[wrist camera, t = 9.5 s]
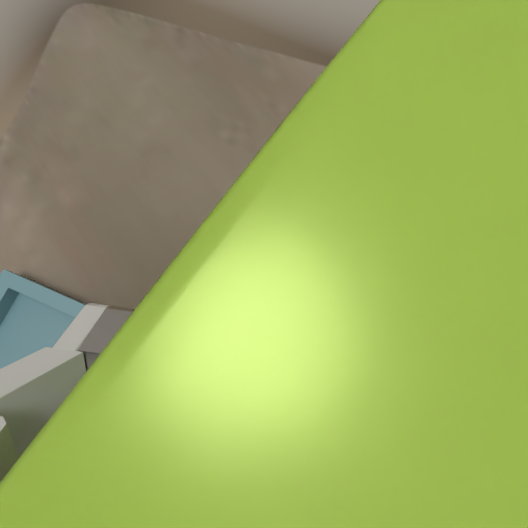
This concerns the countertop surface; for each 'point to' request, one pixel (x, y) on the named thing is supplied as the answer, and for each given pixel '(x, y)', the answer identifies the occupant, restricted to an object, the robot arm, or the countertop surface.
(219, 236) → the soap dispenser
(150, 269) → the countertop surface
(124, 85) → the countertop surface
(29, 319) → the tray
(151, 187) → the countertop surface
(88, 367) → the robot arm
